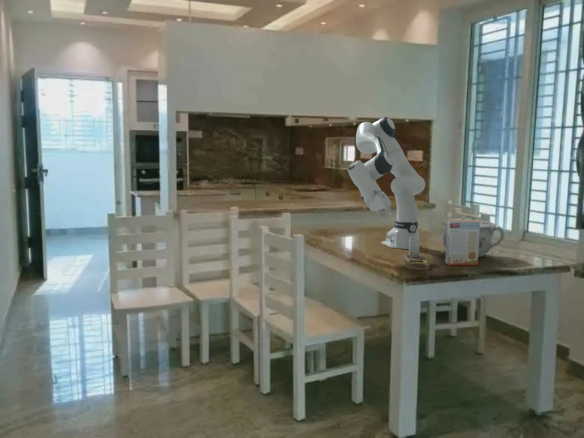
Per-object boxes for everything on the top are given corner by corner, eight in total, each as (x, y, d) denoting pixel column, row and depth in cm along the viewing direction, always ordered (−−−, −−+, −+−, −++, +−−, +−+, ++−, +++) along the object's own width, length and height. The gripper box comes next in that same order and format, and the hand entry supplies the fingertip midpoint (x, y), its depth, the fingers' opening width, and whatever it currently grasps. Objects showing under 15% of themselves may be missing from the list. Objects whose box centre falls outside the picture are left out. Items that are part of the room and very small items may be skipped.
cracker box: (473, 263, 275) (476, 219, 272) (477, 265, 269) (480, 221, 266) (444, 262, 275) (446, 219, 272) (448, 265, 269) (450, 220, 266)
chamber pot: (427, 252, 301) (429, 212, 299) (470, 249, 311) (473, 211, 308) (460, 262, 275) (463, 219, 273) (507, 259, 285) (510, 218, 282)
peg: (408, 260, 278) (409, 236, 276) (417, 261, 278) (418, 236, 276) (409, 262, 274) (410, 237, 272) (418, 262, 273) (420, 237, 272)
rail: (401, 258, 282) (401, 253, 282) (422, 259, 281) (422, 254, 281) (406, 269, 258) (406, 263, 258) (429, 270, 257) (429, 264, 257)
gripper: (384, 185, 264) (401, 210, 264) (369, 191, 284) (385, 214, 284) (373, 193, 262) (390, 218, 263) (359, 198, 282) (375, 221, 283)
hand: (387, 216), depth 274 cm, fingers open, 8 cm apart
